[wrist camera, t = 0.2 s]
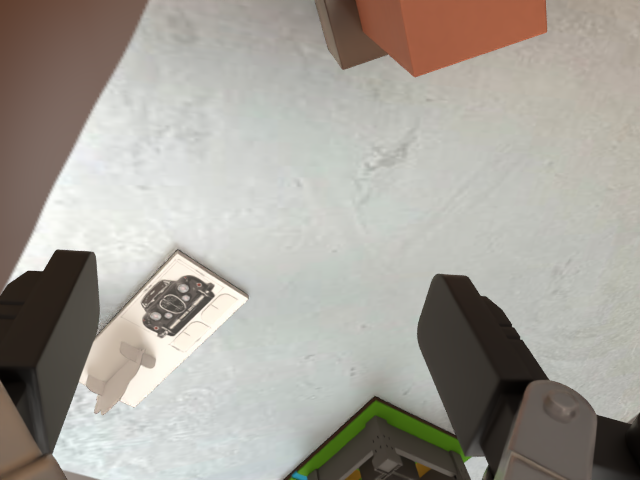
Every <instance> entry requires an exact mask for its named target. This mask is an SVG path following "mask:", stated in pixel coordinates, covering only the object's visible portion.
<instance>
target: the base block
mask: <svg viewBox="0 0 640 480" xmlns="http://www.w3.org/2000/svg"><path fill="white" fill-rule="evenodd" d="M315 4H316V7H317V11H318V15H319V18H320V22H321V25H322V29H323V33H324V36H325V40H326V43H327V47H328V50H329V51H330V53H331V54H332V55H333V57H334V58H335V60H336V61H337V62H338V64H339V65H340V67H341V68H342V69H343V70H345V69H348V68H351V67H353V66H356V65H359V64H362V63H365V62H368V61H371V60H374V59H377V58H380V57H383V56H385V55H388V53H386V52H385V51H384V50H383V49H382V48H381V47H380V46H379V45H377V44H376V43H375V42H374V41H373V40H372V39H371V38H369V37H368V36H367V35H366V34H365V33H364V32H363V30H362V26H361V21H360V17H359V13H358V9H357V4H356V0H315Z"/></svg>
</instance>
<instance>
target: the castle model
mask: <svg viewBox="0 0 640 480" xmlns="http://www.w3.org/2000/svg"><path fill="white" fill-rule="evenodd" d="M470 458H471V457H465V455H464V453H463V451H462V448H461V446H460V443H459V441H458V439H457V436H455V435H453V434H451V433H449V432H447V431H445V430H443V429H441V428H439V427H437V426H435V425H433V424H431V423H429V422H426V421H424V420H422V419H420V418H418V417H416V416H414V415H412V414H410V413H408V412H406V411H404V410H402V409H400V408H398V407H396V406H393V405H391V404H389V403H387V402H385V401H383V400H381V399H379V398H377V397H374V398H373V399H372V400H370V401H369V402H368V403H367V404H366V405H365V406H364V407H363V408H362V409H361V410H360V411H358V412H357V413H356V414H355V415H354V416H353V417H352V418H351V419H350V420H349V421H347V422H346V423H345V424H344V425H343V426H342V427H341V428H340V429H339V430H338V431H337V432H335V433H334V434H333V435H332V436H331V437H330V438H329V439H328V440H327V441H326V442H325V443H323V444H322V445H321V446H320V447H319V448H318V449H317V450H316V451H315V452H314V453H313V454H311V455H310V456H309V457H308V458H307V459H306V460H305V461H304V462H303V463H302V464H300V465H299V466H298V467H297V468H296V469H295V470H294V471H293V472H292V473H291V474H290V475H288V476H287V477H286V478H285V479H284V480H471V479H470V476H469V474H468V472H467V469H466V467H465V465H464V462H466V461H467V460H468V459H470Z"/></svg>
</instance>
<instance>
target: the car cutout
mask: <svg viewBox="0 0 640 480" xmlns="http://www.w3.org/2000/svg"><path fill="white" fill-rule="evenodd" d="M248 299H249V296H248V295H247V294H245V293H244V292H242V291H241V290H239V289H238V288H236V287H234V286H233V285H231V284H230V283H228V282H227V281H225V280H224V279H222V278H220V277H219V276H217V275H216V274H214V273H213V272H211V271H210V270H208V269H206V268H205V267H203V266H202V265H200V264H199V263H197V262H196V261H194V260H192V259H191V258H189V257H188V256H186V255H185V254H183V253H182V252H180V251H179V250H177V251H176V252H175V253H174V254H173V255H172V256H171V258H170V259H169V260H168V261H167V262H166V263H165V264H164V265H163V266H162V267H161V268H160V269H159V270H158V271H157V272H156V273H155V274H154V276H153V277H152V278H151V279H150V280H149V281H148V282H147V283H146V284H145V285H144V286H143V287H142V288H141V289H140V290H139V291H138V293H137V294H136V295H135V296H134V297H133V298H132V299H131V300H130V301H129V302H128V303H127V304H126V305H125V306H124V307H123V308H122V309H121V311H120V312H119V313H118V314H117V315H116V316H115V317H114V318H113V319H112V320H111V321H110V322H109V323H108V324H107V325H106V326H105V327H104V329H103V330H102V331H101V332H100V333H99V334H98V335H97V336H96V337H95V339H94V342H93V344H92V347H91V350H90V353H89V355H88V358H87V361H86V363H85V366H84V369H83V372H82V374H81V377H80V380H79V383H81V384H84V385H86V386H87V388H88V389H89V390H90V391H92V392H94V393H96V394H98V396H97V399H96V400H97V403H96V406H95V409H94V413H95V414H97V413H99V412H100V411H101V414H102V415H104V414H105V413H107V412H108V411H109V410H110V409H111V408H112V407H113V406H114V405H115V404H116V403H117V402H118V401H121V402H123V403H125V404H128V405H130V406H132V407H134V408H135V407H136V406H137V405H138V404H139V403H140V402H141V401H142V400H143V399H144V398H145V397H146V396H147V395H148V394H149V393H150V392H151V391H152V390H154V389H155V388H156V387H157V386H158V385H159V384H160V383H161V382H162V381H163V380H164V379H165V378H166V377H167V376H168V375H169V374H170V373H171V372H172V371H174V370H175V369H176V368H177V367H178V366H179V365H180V364H181V363H182V362H183V361H184V360H185V359H186V358H187V357H188V356H189V355H190V354H191V353H192V352H194V351H195V350H196V349H197V348H198V347H199V346H200V345H201V344H202V343H203V342H204V341H205V340H206V339H207V338H208V337H209V336H210V335H211V334H212V333H214V332H215V331H216V330H217V329H218V328H219V327H220V326H221V325H222V324H223V323H224V322H225V321H226V320H227V319H228V318H229V317H230V316H231V315H232V314H234V313H235V312H236V311H237V310H238V309H239V308H240V307H241V306H242V305H243V304H244V303H245V302H246V301H247V300H248Z"/></svg>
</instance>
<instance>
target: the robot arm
mask: <svg viewBox="0 0 640 480" xmlns="http://www.w3.org/2000/svg"><path fill="white" fill-rule="evenodd" d="M99 314H100V305H99V291H98V278H97V264H96V256H95V254H94V252H89V251H73V250H56V251H55V252H54V254H53V255H52V257H51V259H50V260H49V262H48V264H47V266H46V267H45V269H44V271H27V272H25V273H24V274H22V275H21V276H19V277H18V278H17V279H15V280H14V281H12V282H11V283H9V284H8V285H7V287H6V288H5V290H4V291H3V293H2V294H1V296H0V480H67V478H66V476H65V475H64V473H63V471H62V469H61V468H60V466H59V464H58V463H57V461H56V459H55V458H54V457H53V455H52V453H53V450H54V448H55V445H56V442H57V440H58V437H59V434H60V431H61V429H62V426H63V423H64V421H65V418H66V415H67V412H68V410H69V407H70V404H71V401H72V399H73V396H74V393H75V391H76V388H77V385H78V382H79V380H80V377H81V374H82V372H83V369H84V366H85V363H86V361H87V358H88V355H89V353H90V350H91V347H92V344H93V342H94V339H95V336H96V333H97V329H98V324H99ZM417 338H418V344H419V347H420V350H421V352H422V354H423V357H424V359H425V362H426V364H427V366H428V369H429V371H430V374H431V376H432V378H433V381H434V383H435V386H436V388H437V391H438V393H439V395H440V398H441V400H442V403H443V405H444V407H445V410H446V412H447V415H448V417H449V419H450V422H451V424H452V427H453V429H454V431H455V434H456V436H457V439H458V441H459V443H460V446H461V448H462V451H463V453H464V455H465V457H481V456H485V458H486V460H487V462H488V464H489V465H488V467H487V469H486V471H485V473H484V475H483V478H482V480H640V413H639V415H638V416H637V418H636V419H635V421H634V422H633V424H628V423H625V422H621V421H617V420H614V419H610V418H606V417H603V416H599V415H596V413H595V411H594V409H593V408H592V406H591V405H590V404H589V403H588V401H587V400H586V399H585V398H584V397H582V396H581V395H580V394H579V393H577V392H576V391H574V390H573V389H571V388H569V387H568V386H566V385H563V384H561V383H558V382H555V381H550V380H549V379H548V377H547V376H546V374H545V373H544V371H543V370H542V368H541V367H540V365H539V364H538V362H537V361H536V359H535V358H534V357H533V355H532V354H531V352H530V351H529V349H528V348H527V346H526V345H525V343H524V342H523V340H520V336H519V334H518V333H517V331H516V330H515V328H513V327H512V324H511V322H510V321H509V319H508V318H507V316H506V315H505V313H504V312H503V310H502V309H501V308H499V307H498V306H497V305H496V304H494V303H493V302H492V301H491V300H490V299H488V298H487V297H486V296H480V294H479V293H478V291H477V290H476V288H475V286H474V285H473V283H472V282H471V280H470V279H469V277H467V276H464V275H448V274H436V275H435V276H434V277H433V279H432V282H431V285H430V288H429V291H428V294H427V297H426V300H425V303H424V306H423V309H422V313H421V316H420V319H419V322H418V328H417Z"/></svg>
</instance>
